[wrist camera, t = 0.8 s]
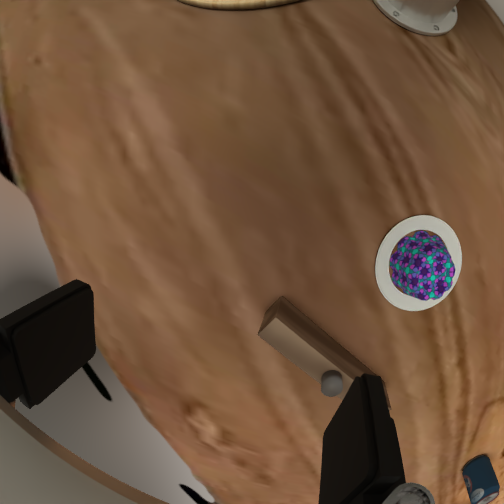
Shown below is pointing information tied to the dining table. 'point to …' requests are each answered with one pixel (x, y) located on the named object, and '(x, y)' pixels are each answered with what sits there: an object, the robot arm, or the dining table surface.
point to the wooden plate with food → (236, 4)
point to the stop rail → (311, 349)
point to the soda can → (480, 480)
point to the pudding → (418, 263)
